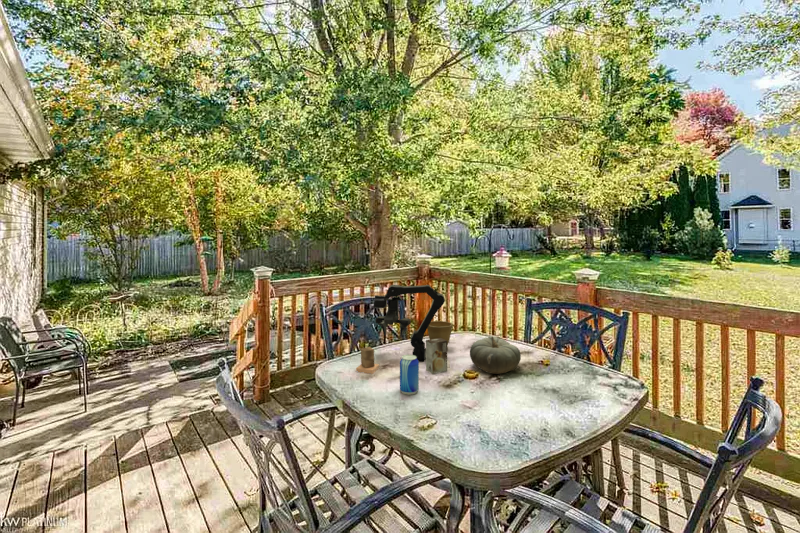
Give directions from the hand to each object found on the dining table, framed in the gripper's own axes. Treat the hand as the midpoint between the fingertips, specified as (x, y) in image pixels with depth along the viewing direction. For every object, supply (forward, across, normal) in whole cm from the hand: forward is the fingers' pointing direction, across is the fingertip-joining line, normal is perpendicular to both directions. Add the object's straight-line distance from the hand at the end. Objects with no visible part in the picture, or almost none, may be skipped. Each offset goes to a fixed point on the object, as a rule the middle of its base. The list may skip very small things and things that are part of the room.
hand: (393, 336), depth 228 cm
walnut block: (+11, -7, -19) cm, 23 cm away
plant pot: (+13, +20, +24) cm, 34 cm away
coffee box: (+13, +27, -9) cm, 31 cm away
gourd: (+13, +55, +4) cm, 57 cm away
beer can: (+13, +22, -38) cm, 46 cm away
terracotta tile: (+14, -6, -19) cm, 25 cm away
